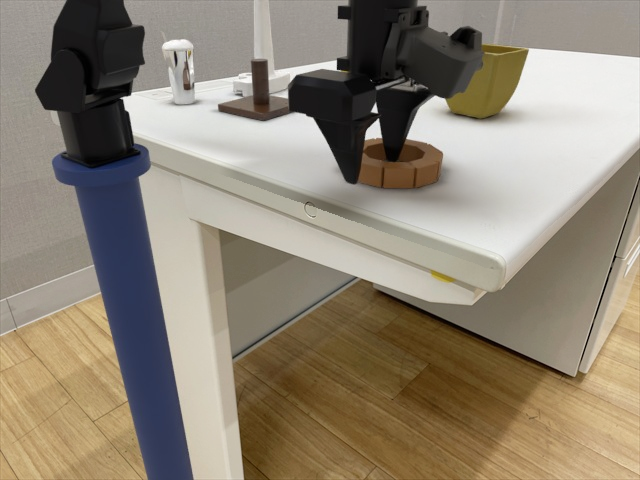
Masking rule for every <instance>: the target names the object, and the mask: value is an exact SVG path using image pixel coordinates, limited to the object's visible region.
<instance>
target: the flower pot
mask: <svg viewBox="0 0 640 480" xmlns="http://www.w3.org/2000/svg"><path fill="white" fill-rule="evenodd" d="M482 51H483V52H485V54H484V56H483V58H482V61H483V67H482V68H481V69H480V70H478V71H475V73H474V75H473V77H472V79H471V81H470V83H469V85H468V87H467V89H466V91H465V92H464V93H461V92H459V93H457V94H455V95H454V96H453V97H452V98H449V99H444V100H445V103H446V104H447V107H448V109H449V110H450V112H451V113H453V114H456V115H458V114H459V115H463V116H468V117H472V118H477V119H485V118H489V117H490V116H494V115H497V114H499V113H500V112H502V110H503V109H504V108H505V107H506V106H507V104H508V103H509V102H510V100H511V98H512V97H513V95H514V94H515V92H516V90H517V88H518V85H519V83H520V80H521V77H522V74H523V70H524V67H525V65H526V62H527V57H528V55H529V52H530V48H526V47H517V46H508V45H500V44H499V45H498V44H488V43H482Z"/></svg>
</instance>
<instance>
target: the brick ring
mask: <svg viewBox="0 0 640 480" xmlns="http://www.w3.org/2000/svg"><path fill="white" fill-rule="evenodd" d="M443 159H444V153H443V151H442V150H440V149H439V148H437V147H436V146H434V145H432V144H431V143H428V142H423V141H419V140H415V139H409V138H406V141H405V143H404V146H403V149H402V151H401V154H400V156H399V159H398V161H397V162H390V161H387V159H386V155H385V151H384V146H383V141H382V137H376V138H374V137H373V138H368V139H365V143H364V150H363V157H362V164H361V170H360V175H359V179H358V183H362V184H365V185H368V186H373V187H377V188H379V189H381V188H383V189H414V188H415V189H417V188H420V187H423V186H427V185H430V184H434V183H437V181H438V180H439V178H440V175H441V173H442V168H443V167H442V166H443Z"/></svg>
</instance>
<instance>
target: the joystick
mask: <svg viewBox="0 0 640 480" xmlns="http://www.w3.org/2000/svg"><path fill="white" fill-rule="evenodd" d="M270 10H271V9H270V0H253V56H254V57H253V59H267V60H268V75H269V95H270V94H274V93H278V92H281V91H284V90H286V89H288V84H289V83H290V82H291V72H288V71H281V70H280V71H279V70H276V69H275V59H274V58H275V57H274V46H273V35H272V33H273V32H272V24H271V11H270ZM232 85H233V92H234V93H242V97H243V98H244V97H248V96H252V95H253V89H252V73H251V72H242V73H239V74H238V79H233V80H232Z"/></svg>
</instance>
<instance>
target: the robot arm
mask: <svg viewBox="0 0 640 480" xmlns="http://www.w3.org/2000/svg"><path fill="white" fill-rule="evenodd" d="M418 3H419V0H347V4H343V5H337V20H344V21H345V20H346V21H347V39H346V55H345V56H340V57H337V58H336V70H333V69H327V68H320V69H314V70H310V71H306V72H303V73H298V74H296V75H295V76H294V77H293V78H292V80H290V83H289V84H288V88H287V98H288V109H289V111H292V112H291V113H297V114H302V115H305V116H306V117H308V118H312V119H313V121H314V122H315V124H316V127H318V130H319V131H320V132H321V135H322V136H323V138H324V139H325V141H326V144H327V145H328V147H329V149H330V151H331V153H332V156H333V158H334V159H335V162H336V164H337V167H338V168H339V170H340V172H341V174H342V177H343V179H344V181H345V183H347V184H351V185H357V184H358V183H359V182H358V179H359V175H360V170H361V164H362V157H363V150H364V143H365V140H366V137H367V136H366V135H367V131H368V129H369V128H370V127H371V126H372V125H374V123H376V122H377V121H378V122H379V128H380V135H381V138H382V141H383V146H384V151H385V155H386V159H387V160H386V162H399V161H398V159H399V156H400V154H401V151H402V149H403V146H404V143H405V141H406V139H408V135H409V133H410V131H411V128H412V125H413V123H414V120H415V118H416V116H417V113H418V111H419V110H420V108H421V107H422V106H424V105H425V104H426V103H427V102H428V101H430V100H431V99H433V98H434V97H438V98H441V99H444V100H445V99H449V98H452V97H453V96H454V95H455V94H457V93H459V92H461V93H464V92H465V91H466V89H467V87H468V85H469V83H470V81H471V79H472V77H473V75H474V73H475V71H478V70H480V69H481V68H482V67H483V61H482V58H483V56H484V54H485V52H483V51H482V44H483V32H482V31H480V30H478V29H476V28H474V27H473V26H470V25H465V26H460V27H459V28H457V29H456V30H455V31H454V32H453V33H451V35H449V32H447V31H438V30H436V29H434V28H432V27H430V26H429V21H430V20H429V19H430V11H429V9H427V8H428V6H427V5H419V4H418ZM145 36H146V30H145V26H143V25H142V24H133V22H132V19H131V17H130V15H129V13H128V11H127V9H126V6H125V0H65V2H64V4H63V6H62V8H61V10H60V11H59V13H58V16H57V18H56V20H55V22H54V24H53V27H52V37H51V47H50V63H49V64H48V66H47V68H46V69H45V71H44V73H43V75H42V76H41V78H40V79H39V82H38V83H37V85H36V86H35V89H34V93H35V95H36V97H37V98H38V100H39V102H40V104H41V106H42V108H43V109H44V110H45V111H53V112H56V113H57V114H56V115H57V118H58V122H59V126H60V130H61V134H62V139H63V141H64V146H65V149H66V150H67V152H64V151H62V152H63V153H62V152H60V153H61V154H60V153H59V154H60V155H61V158H63V159H66V160H68V161H71V162H74V163H76V164H79V165H81V166H84V167H87V168H90V169H93V168H97V167H100V166H104V165H107V164H110V163H114V162H117V161H120V160H123V159H127V158H130V157H133V156H136V155H140V154H141V151H140V149H137V148H133V147H132V146H134V144H135V138H134V132H133V127H132V122H131V116H130V111H128V110H126V106H125V101H124V99H123V98H125V97H126V98H128V97H131V96H132V93H133V86H134V79H136V78H137V77H138V74H139V72H140V67H141V66H145V65H146V60H145V57H144V48H143V47H144V41H145ZM342 71H347V72H342ZM375 105H376V111H377V112H372V111H373V109H374V107H375ZM66 150H65V151H66Z"/></svg>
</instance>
